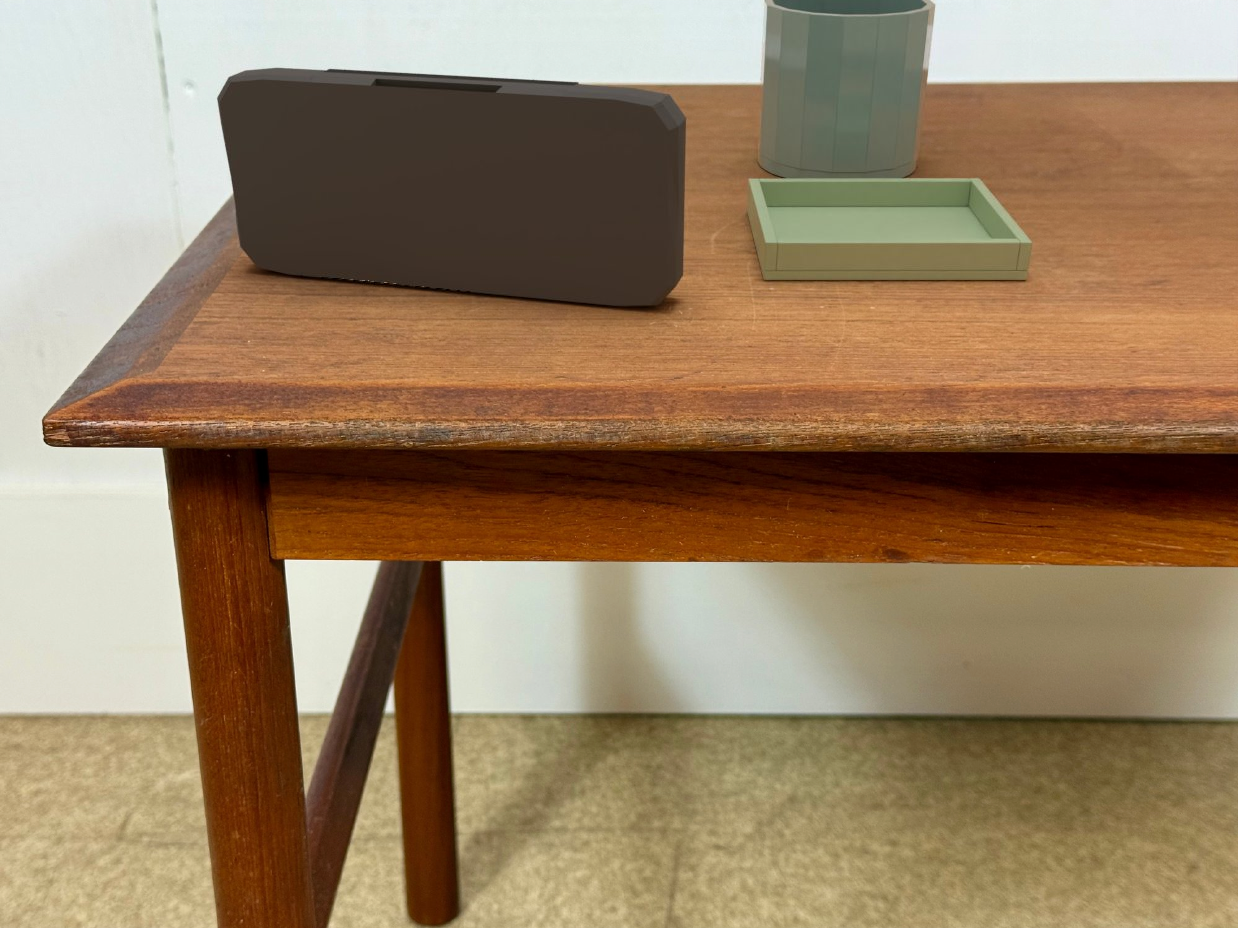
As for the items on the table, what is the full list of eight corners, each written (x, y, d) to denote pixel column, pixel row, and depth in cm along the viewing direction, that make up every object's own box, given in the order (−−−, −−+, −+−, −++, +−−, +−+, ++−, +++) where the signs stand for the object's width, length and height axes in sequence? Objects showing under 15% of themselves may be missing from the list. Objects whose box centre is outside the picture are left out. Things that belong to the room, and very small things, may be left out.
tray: (975, 211, 73) (979, 178, 72) (1027, 280, 64) (1032, 242, 63) (746, 212, 74) (748, 178, 73) (763, 280, 64) (765, 242, 63)
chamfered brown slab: (686, 294, 62) (690, 86, 57) (673, 314, 60) (677, 99, 55) (265, 255, 68) (237, 62, 63) (239, 272, 65) (207, 73, 60)
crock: (900, 142, 87) (916, -12, 82) (930, 185, 78) (950, 15, 73) (752, 143, 87) (758, -11, 82) (764, 185, 78) (773, 16, 73)
